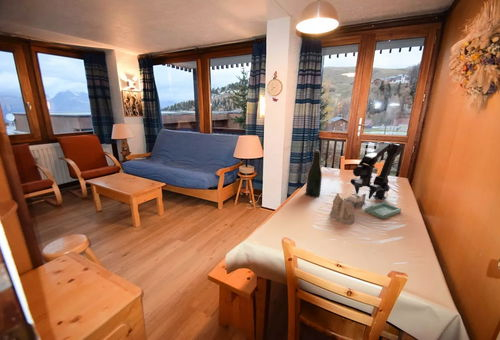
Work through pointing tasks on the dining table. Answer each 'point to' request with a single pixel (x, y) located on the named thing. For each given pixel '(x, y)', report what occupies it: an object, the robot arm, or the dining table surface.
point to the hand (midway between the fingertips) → (362, 196)
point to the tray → (382, 210)
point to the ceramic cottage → (342, 211)
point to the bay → (355, 203)
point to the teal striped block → (357, 197)
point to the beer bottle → (314, 176)
